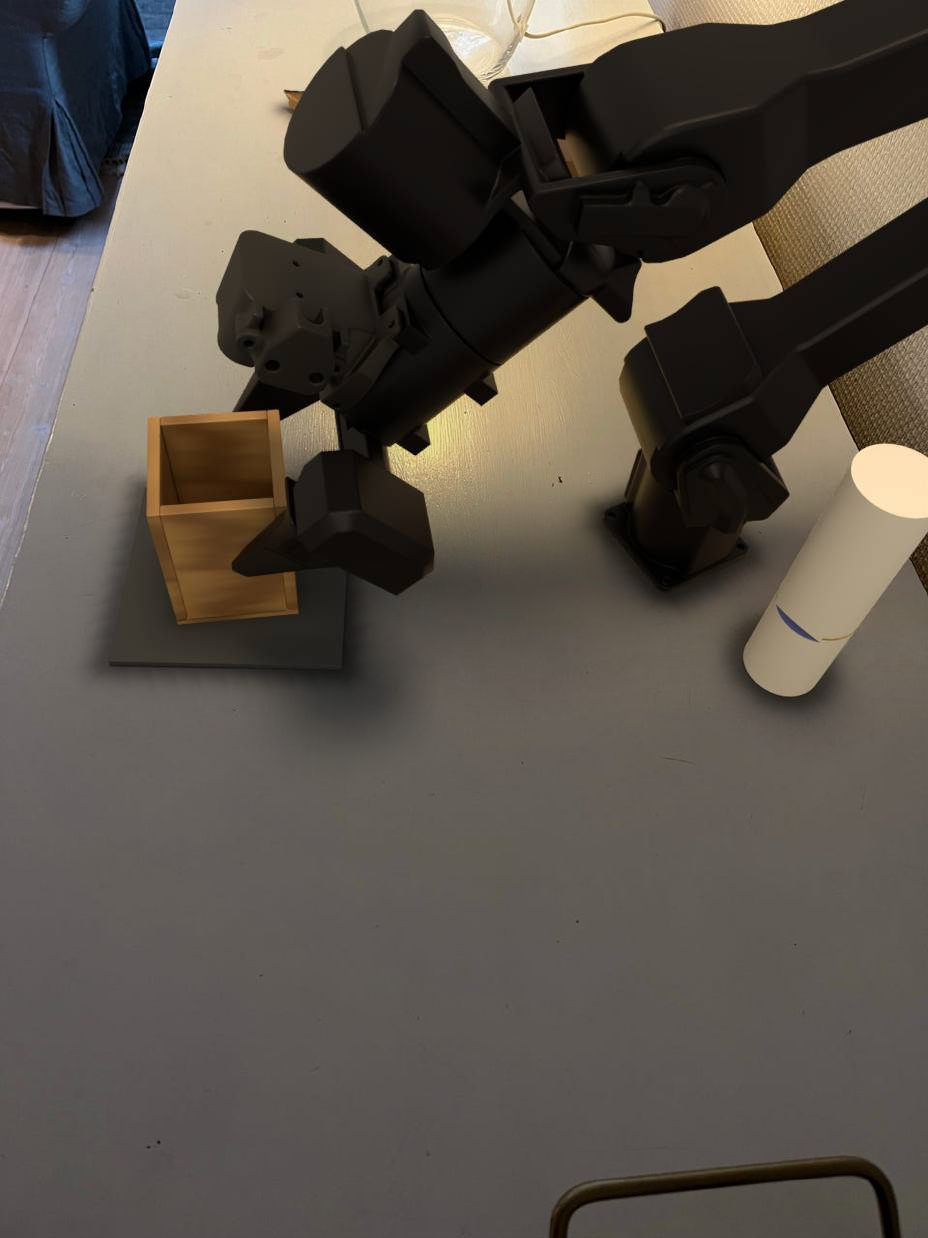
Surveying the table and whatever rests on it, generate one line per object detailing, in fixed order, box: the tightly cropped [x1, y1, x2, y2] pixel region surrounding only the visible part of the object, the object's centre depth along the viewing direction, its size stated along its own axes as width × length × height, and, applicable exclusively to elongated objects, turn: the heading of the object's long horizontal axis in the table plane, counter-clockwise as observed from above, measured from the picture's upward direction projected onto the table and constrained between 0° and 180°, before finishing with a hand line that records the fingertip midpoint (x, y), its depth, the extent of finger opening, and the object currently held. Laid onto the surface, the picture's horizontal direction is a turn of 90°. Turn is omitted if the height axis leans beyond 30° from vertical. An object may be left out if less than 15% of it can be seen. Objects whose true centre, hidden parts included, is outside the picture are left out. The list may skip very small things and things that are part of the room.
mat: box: [108, 486, 348, 670], centre depth 55 cm, size 12×12×1 cm
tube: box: [742, 443, 928, 698], centre depth 49 cm, size 4×4×15 cm
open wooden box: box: [146, 410, 299, 625], centre depth 51 cm, size 6×6×9 cm
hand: (235, 498), depth 50 cm, fingers open, 9 cm apart
